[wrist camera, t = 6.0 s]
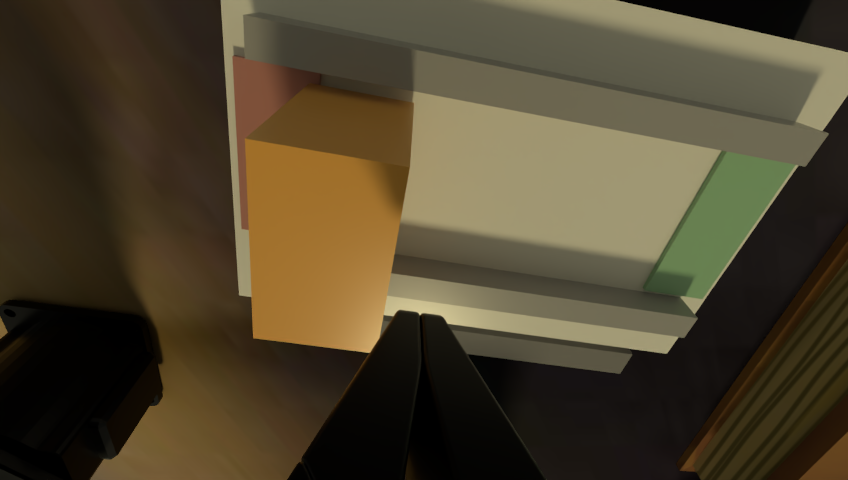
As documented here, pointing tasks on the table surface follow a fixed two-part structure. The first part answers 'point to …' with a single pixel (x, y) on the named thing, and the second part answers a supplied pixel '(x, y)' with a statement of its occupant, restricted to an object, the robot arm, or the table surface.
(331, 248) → the handle
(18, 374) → the robot arm
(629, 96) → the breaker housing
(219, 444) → the table surface
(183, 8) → the table surface
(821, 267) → the diary
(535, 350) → the grey base plate
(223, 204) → the table surface
